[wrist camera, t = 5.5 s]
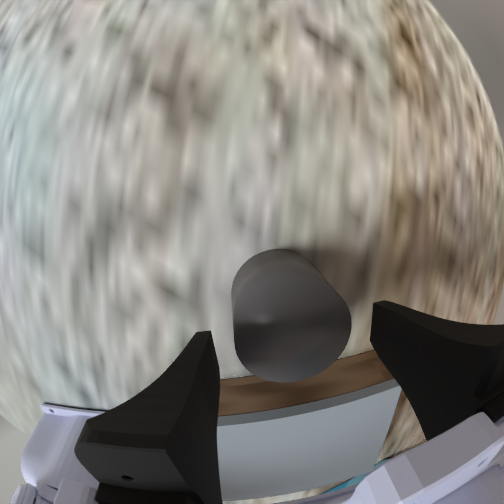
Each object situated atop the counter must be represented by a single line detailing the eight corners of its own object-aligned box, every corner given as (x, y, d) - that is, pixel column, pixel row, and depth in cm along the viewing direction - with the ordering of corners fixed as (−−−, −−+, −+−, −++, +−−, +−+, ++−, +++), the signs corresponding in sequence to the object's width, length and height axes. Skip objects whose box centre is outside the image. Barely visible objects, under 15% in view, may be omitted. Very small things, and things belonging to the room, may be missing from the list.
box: (216, 466, 21) (216, 493, 18) (182, 383, 18) (176, 417, 14) (357, 440, 22) (368, 464, 18) (375, 349, 18) (396, 376, 15)
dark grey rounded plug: (238, 336, 17) (243, 390, 12) (225, 256, 16) (225, 292, 11) (319, 322, 17) (348, 369, 12) (316, 243, 16) (353, 272, 11)
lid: (216, 494, 17) (216, 501, 17) (176, 418, 14) (175, 428, 13) (369, 464, 18) (371, 470, 17) (397, 377, 15) (402, 384, 14)
